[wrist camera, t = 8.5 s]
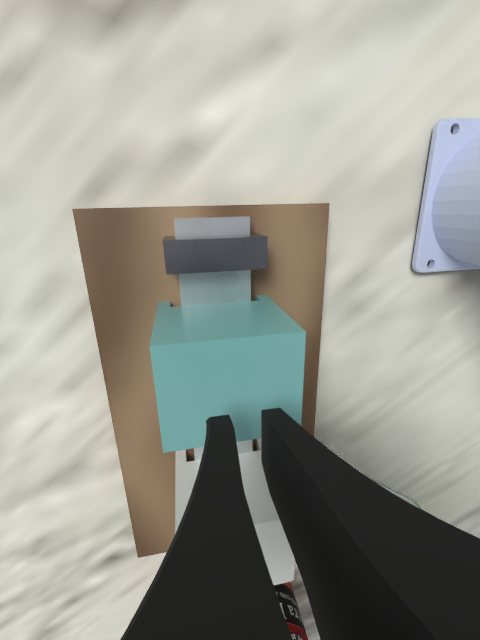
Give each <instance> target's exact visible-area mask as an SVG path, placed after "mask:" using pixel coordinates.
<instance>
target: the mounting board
mask: <svg viewBox="0 0 480 640" xmlns="http://www.w3.org/2000/svg"><path fill="white" fill-rule="evenodd" d="M73 215H74V220H75V225H76V231H77V236H78V241H79V247H80V252H81V257H82V263H83V268H84V273H85V278H86V284H87V289H88V294H89V300H90V305H91V310H92V316H93V321H94V326H95V332H96V337H97V342H98V348H99V353H100V358H101V364H102V369H103V374H104V379H105V385H106V390H107V395H108V401H109V406H110V411H111V417H112V422H113V427H114V433H115V438H116V443H117V449H118V454H119V459H120V465H121V470H122V475H123V480H124V486H125V491H126V496H127V502H128V507H129V512H130V518H131V523H132V528H133V534H134V539H135V544H136V550H137V555H138V558H139V557H144V556H149V555H154V554H159V553H164V552H167V551H168V549H169V547H170V544H171V542H172V540H173V538H174V536H175V461H176V451H172V452H166V453H163V448H162V440H161V432H160V425H159V417H158V409H157V401H156V393H155V386H154V378H153V370H152V362H151V354H150V341H151V336H152V331H153V326H154V321H155V316H156V311H157V306H158V302H168V301H170V302H171V307H177V306H181V297H180V285H179V274H170V275H166V269H165V259H164V249H163V239H164V236H175V229H174V218H199V217H235V216H249V217H250V233H258V234H261V235H264V236H268V252H267V269H257V270H251V301H256V300H255V295H267V296H269V297H270V298H271V299H272V300H273V301H274V302H275V303H276V304H277V305H278V306H279V307H280V308H281V309H282V310H283V311H285V312H286V313H287V314H288V315H289V316H290V317H291V318H292V319H293V320H294V321H295V322H296V323H297V324H298V325H300V326H301V327H302V328H303V329H304V330H305V331H306V342H305V361H304V380H303V400H302V419H301V426H302V427H303V428H304V429H305V430H306V431H307V432H308V433H310V434H311V435H312V436H313V437H314V424H315V409H316V394H317V379H318V365H319V350H320V335H321V320H322V306H323V291H324V276H325V261H326V246H327V232H328V217H329V203H322V204H276V205H231V206H185V207H139V208H94V209H73ZM259 439H260V438H259ZM252 443H253V451H257V439H252ZM179 451H180V450H179ZM186 458H187V462H189V461H195V456H194V448H192V449H186Z"/></svg>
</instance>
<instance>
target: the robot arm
mask: <svg viewBox="0 0 480 640" xmlns="http://www.w3.org/2000/svg"><path fill="white" fill-rule="evenodd" d="M451 126H452V127H453V133H451ZM429 260H430V264H429V265H428V266H427V263H428V261H429ZM412 269H413V270H414V271H416V272H420V273H425V272H441V271H456V270H471V269H480V119H473V118H445V119H442V120H439V121H438V122H437V123H436V124H435V126H434V129H433V134H432V140H431V146H430V153H429V159H428V165H427V171H426V178H425V184H424V190H423V197H422V203H421V209H420V216H419V222H418V228H417V234H416V241H415V247H414V253H413V260H412ZM261 462H262V466H263V470H264V474H265V478H266V482H267V485H268V489H269V493H270V496H271V498H272V501H273V504H274V506H275V509H276V511H277V514H278V517H279V519H280V522H281V524H282V527H283V530H284V532H285V535H286V537H287V540H288V542H289V545H290V548H291V550H292V553H293V555H294V558H295V561H296V563H297V566H298V568H299V571H300V574H301V577H302V580H303V583H304V585H305V588H306V591H307V595H308V598H309V602H310V605H311V608H312V612H313V615H314V618H315V622H316V625H317V629H318V632H319V635H320V639H321V640H480V539H479V538H477V537H475V536H473V535H471V534H469V533H466V532H464V531H462V530H460V529H458V528H456V527H454V526H452V525H450V524H448V523H446V522H444V521H442V520H440V519H438V518H436V517H434V516H433V515H431V514H429V513H427V512H425V511H423V510H421V509H420V508H418V507H416V506H414V505H412V504H410V503H409V502H407V501H405V500H403V499H402V498H400V497H398V496H396V495H395V494H393V493H391V492H390V491H388V490H387V489H385V488H383V487H382V486H380V485H379V484H377V483H376V482H374V481H372V480H371V479H369V478H368V477H366V476H365V475H363V474H362V473H360V472H359V471H357V470H356V469H355V468H353V467H352V466H350V465H349V464H348V463H346V462H345V461H344V460H342V459H341V458H339V457H338V456H337V455H335V454H334V453H333V452H332V451H330V450H329V449H328V448H327V447H325V446H324V445H323V444H322V443H320V442H319V441H318V440H317V439H316V438H314V437H313V436H312V435H311V434H310V433H308V432H307V431H306V430H305V429H304V428H303V427H302V426H300V425H299V424H298V423H297V422H296V421H295V420H294V419H293V418H291V417H290V416H289V415H288V414H287V413H286V412H285V411H283V410H282V409H281V408H273V409H265V410H261ZM121 640H293V639H292V636H291V633H290V631H289V628H288V625H287V622H286V620H285V617H284V614H283V611H282V609H281V606H280V603H279V600H278V597H277V594H276V591H275V588H274V585H273V582H272V579H271V576H270V573H269V570H268V567H267V564H266V561H265V558H264V555H263V552H262V549H261V546H260V542H259V539H258V536H257V533H256V530H255V526H254V523H253V520H252V516H251V513H250V509H249V506H248V503H247V499H246V496H245V492H244V487H243V482H242V476H241V469H240V463H239V456H238V449H237V442H236V436H235V429H234V426H233V423H232V420H231V418H230V416H229V414H228V415H221V416H214V417H209V418H208V419H207V420H206V438H205V444H204V450H203V454H202V458H201V462H200V466H199V470H198V474H197V477H196V480H195V483H194V486H193V489H192V492H191V495H190V498H189V501H188V504H187V506H186V509H185V512H184V514H183V517H182V519H181V522H180V524H179V526H178V529H177V531H176V533H175V536H174V538H173V540H172V542H171V544H170V547H169V549H168V551H167V553H166V555H165V557H164V560H163V562H162V564H161V566H160V568H159V570H158V572H157V574H156V576H155V578H154V580H153V582H152V584H151V585H150V587H149V589H148V591H147V593H146V595H145V596H144V598H143V600H142V602H141V604H140V606H139V607H138V609H137V611H136V613H135V615H134V617H133V618H132V620H131V622H130V624H129V626H128V628H127V629H126V631H125V633H124V635H123V636H122V638H121Z"/></svg>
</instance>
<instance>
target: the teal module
mask: <svg viewBox="0 0 480 640" xmlns="http://www.w3.org/2000/svg"><path fill="white" fill-rule="evenodd" d="M255 300H256V301H245V302H231V303H218V304H204V305H191V306H177V307H171V302H170V301H168V302H158V306H157V311H156V316H155V321H154V326H153V331H152V336H151V341H150V354H151V362H152V370H153V378H154V386H155V393H156V401H157V409H158V417H159V425H160V432H161V440H162V448H163V453H166V452H172V451H179V450H186V449H192V448H199V447H204V444H205V438H206V420H207V419H208V418H209V417H214V416H221V415H228V414H229V416H230V418H231V420H232V423H233V426H234V429H235V436H236V442H239V441H246V440H252V439H259V438H261V410H265V409H273V408H281V409H282V410H283V411H285V412H286V413H287V414H288V415H289V416H290V417H291V418H293V419H294V420H295V421H296V422H297V423H298V424H299V425H300V426H301V419H302V400H303V380H304V361H305V342H306V331H305V330H304V329H303V328H302V327H301V326H300V325H298V324H297V323H296V322H295V321H294V320H293V319H292V318H291V317H290V316H289V315H288V314H287V313H286V312H285V311H283V310H282V309H281V308H280V307H279V306H278V305H277V304H276V303H275V302H274V301H273V300H272V299H271V298H270V297H269V296H267V295H255Z"/></svg>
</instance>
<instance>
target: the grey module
mask: <svg viewBox="0 0 480 640" xmlns="http://www.w3.org/2000/svg"><path fill="white" fill-rule="evenodd" d="M238 456H239V463H240V469H241V476H242V482H243V487H244V492H245V496H246V499H247V503H248V506H249V509H250V513H251V516H252V520H253V523H254V526H255V530H256V533H257V536H258V539H259V542H260V546H261V549H262V552H263V555H264V558H265V561H266V564H267V567H268V570H269V573H270V576H271V579H272V582H273V585H277V584H282V583H286V582H290V581H294V568H295V558H294V555H293V553H292V550H291V548H290V545H289V542H288V540H287V537H286V535H285V532H284V530H283V527H282V524H281V522H280V519H279V517H278V514H277V511H276V509H275V506H274V504H273V501H272V498H271V496H270V493H269V489H268V485H267V482H266V478H265V474H264V470H263V466H262V462H261V438H260V439H257V451H253V452H246V453H240V454H238ZM200 462H201V460H195V461H189V462H187V458H186V450H180V451H176V461H175V533H176V531H177V529H178V526H179V524H180V522H181V519H182V517H183V514H184V512H185V509H186V506H187V504H188V501H189V498H190V495H191V492H192V489H193V486H194V483H195V480H196V477H197V474H198V470H199V466H200Z"/></svg>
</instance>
